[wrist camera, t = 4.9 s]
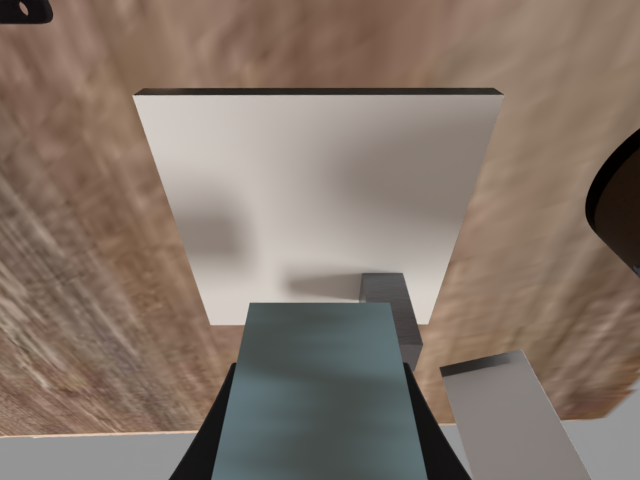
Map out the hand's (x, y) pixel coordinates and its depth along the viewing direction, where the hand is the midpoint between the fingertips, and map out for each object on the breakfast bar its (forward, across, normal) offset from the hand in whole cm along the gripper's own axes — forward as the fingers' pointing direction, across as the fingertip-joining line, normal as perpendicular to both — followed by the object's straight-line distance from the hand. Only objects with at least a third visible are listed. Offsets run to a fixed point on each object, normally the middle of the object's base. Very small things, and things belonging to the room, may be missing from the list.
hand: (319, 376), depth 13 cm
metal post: (+10, +4, -4) cm, 11 cm away
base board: (+10, 0, 0) cm, 10 cm away
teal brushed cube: (+2, 0, 0) cm, 2 cm away
